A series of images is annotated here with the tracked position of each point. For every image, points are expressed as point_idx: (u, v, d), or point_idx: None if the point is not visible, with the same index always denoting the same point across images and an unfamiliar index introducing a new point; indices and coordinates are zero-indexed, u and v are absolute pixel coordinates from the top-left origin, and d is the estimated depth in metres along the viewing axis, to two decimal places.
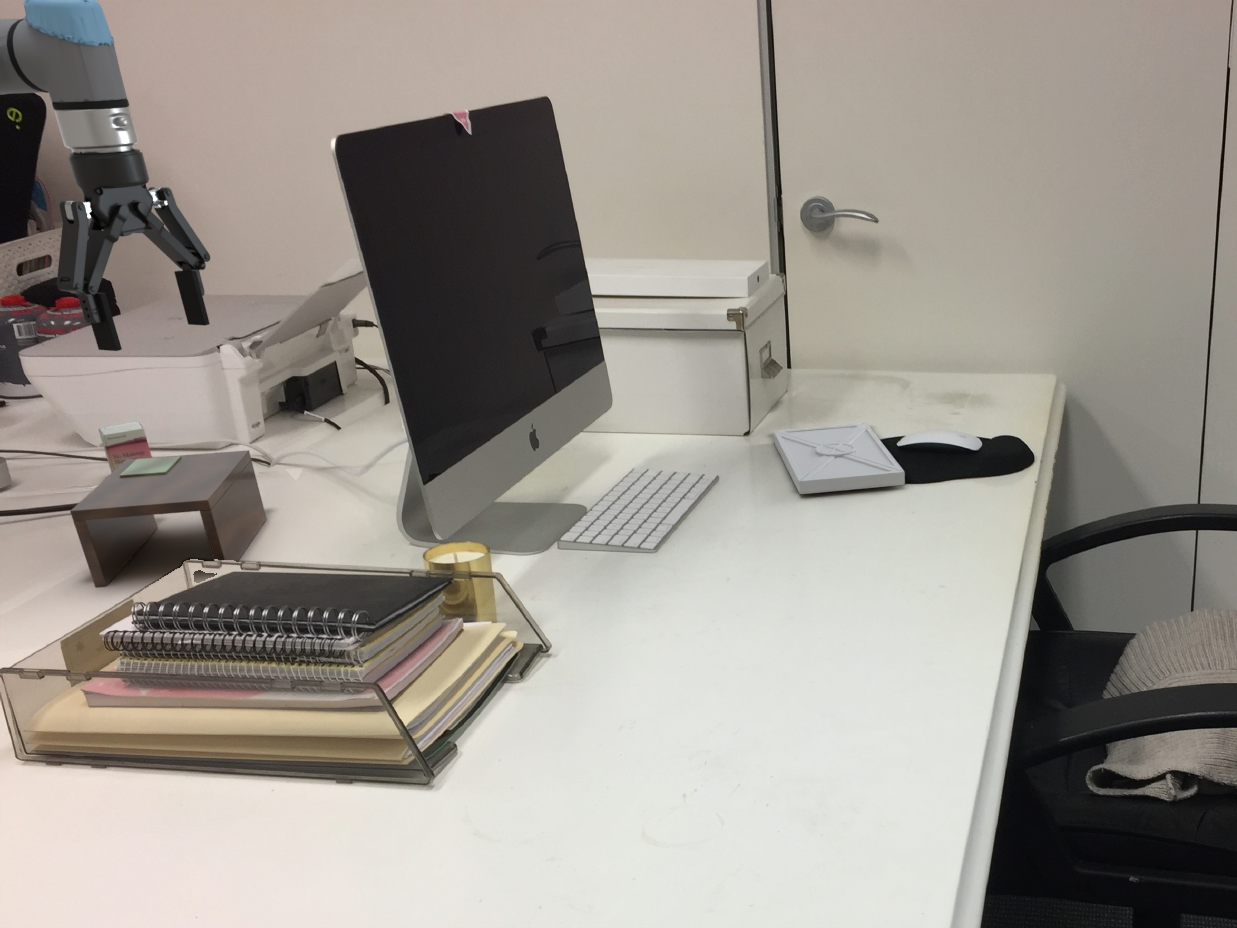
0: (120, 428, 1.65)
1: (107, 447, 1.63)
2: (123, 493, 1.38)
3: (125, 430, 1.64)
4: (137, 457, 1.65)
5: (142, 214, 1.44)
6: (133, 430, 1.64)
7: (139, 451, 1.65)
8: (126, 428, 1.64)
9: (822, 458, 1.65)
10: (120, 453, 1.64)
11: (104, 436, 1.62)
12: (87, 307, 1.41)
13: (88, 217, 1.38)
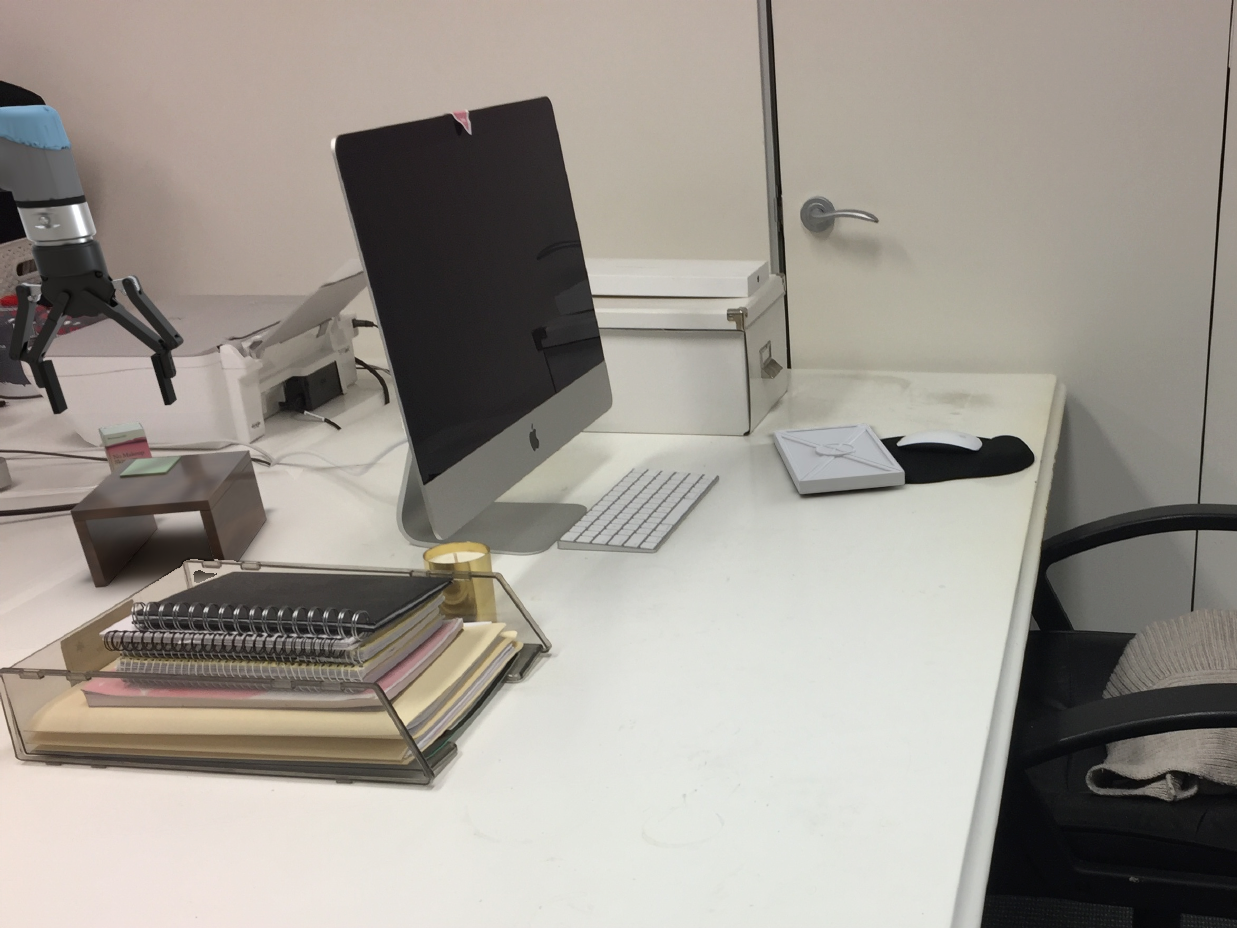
0: (120, 428, 1.65)
1: (107, 447, 1.63)
2: (123, 493, 1.38)
3: (125, 430, 1.64)
4: (137, 457, 1.65)
5: (86, 301, 1.56)
6: (133, 430, 1.64)
7: (139, 451, 1.65)
8: (126, 428, 1.64)
9: (822, 458, 1.65)
10: (120, 453, 1.64)
11: (104, 436, 1.62)
12: None
13: (28, 299, 1.55)
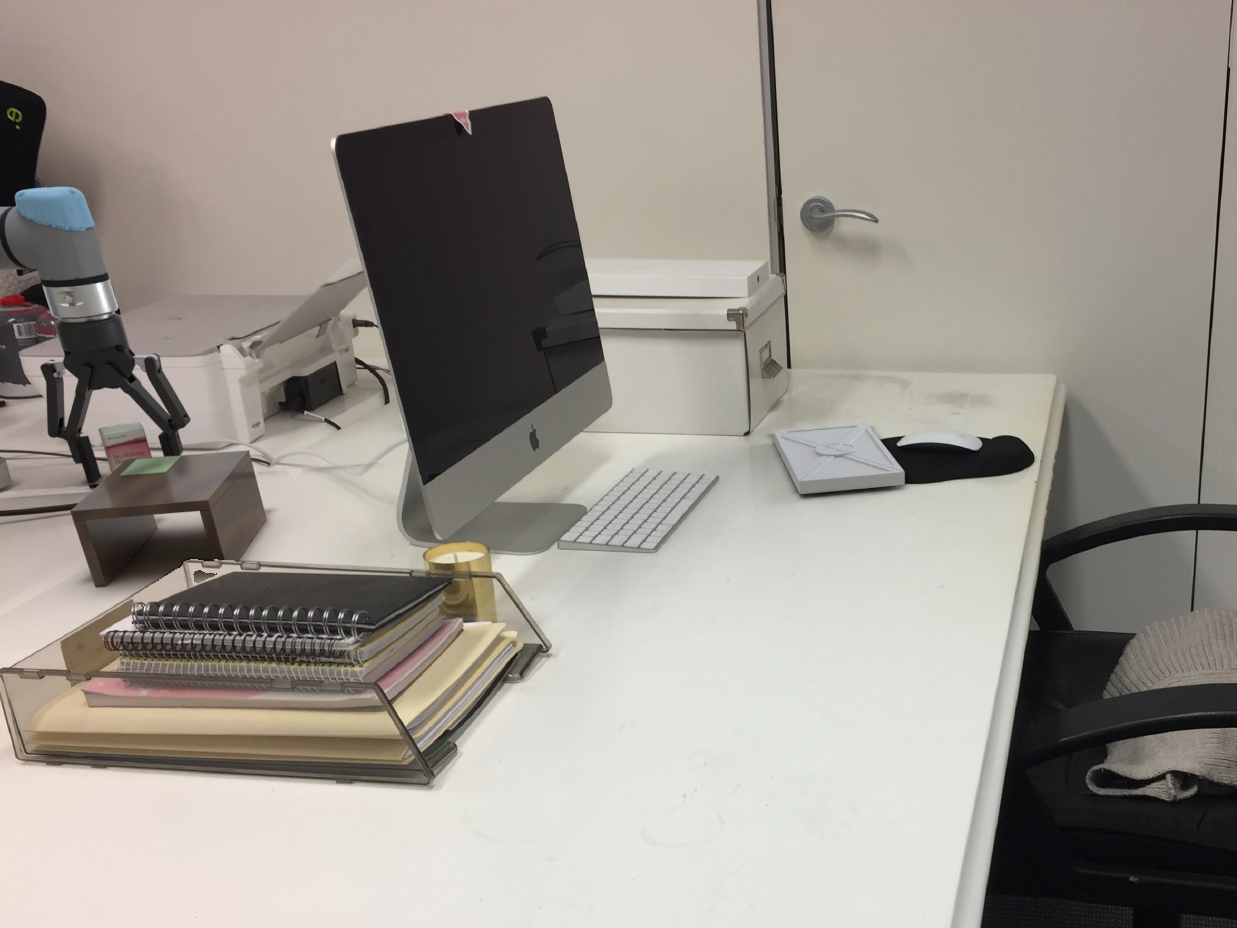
0: (120, 428, 1.65)
1: (107, 447, 1.63)
2: (123, 493, 1.38)
3: (125, 430, 1.64)
4: (137, 457, 1.65)
5: (106, 374, 1.60)
6: (133, 430, 1.64)
7: (139, 451, 1.65)
8: (126, 428, 1.64)
9: (822, 458, 1.65)
10: (120, 453, 1.64)
11: (104, 436, 1.62)
12: None
13: (54, 376, 1.60)
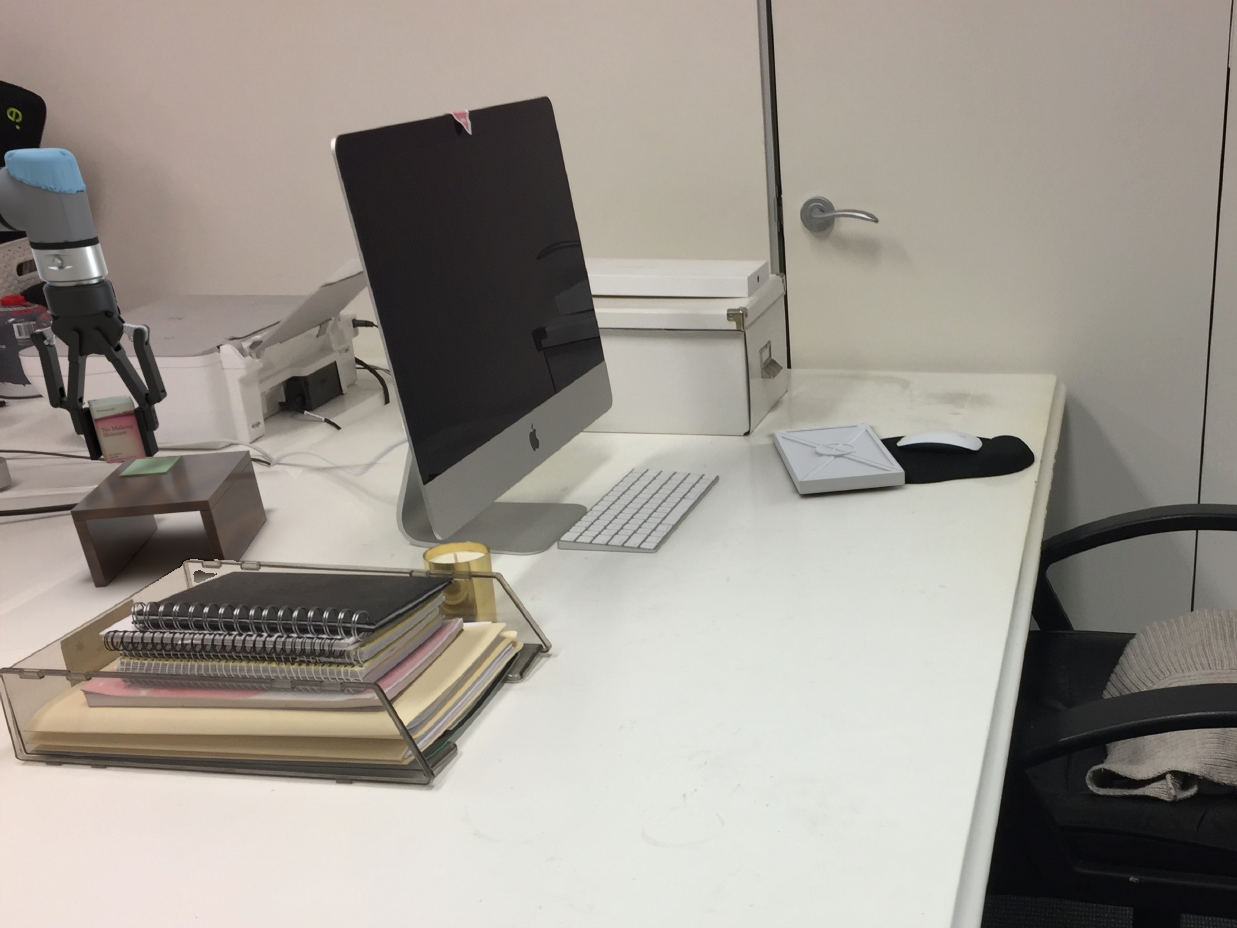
0: (109, 401, 1.63)
1: (96, 420, 1.61)
2: (123, 493, 1.38)
3: (114, 403, 1.62)
4: (126, 430, 1.64)
5: (93, 339, 1.58)
6: (122, 403, 1.62)
7: (128, 425, 1.64)
8: (116, 401, 1.63)
9: (822, 458, 1.65)
10: (109, 426, 1.62)
11: (93, 408, 1.61)
12: None
13: (45, 343, 1.58)
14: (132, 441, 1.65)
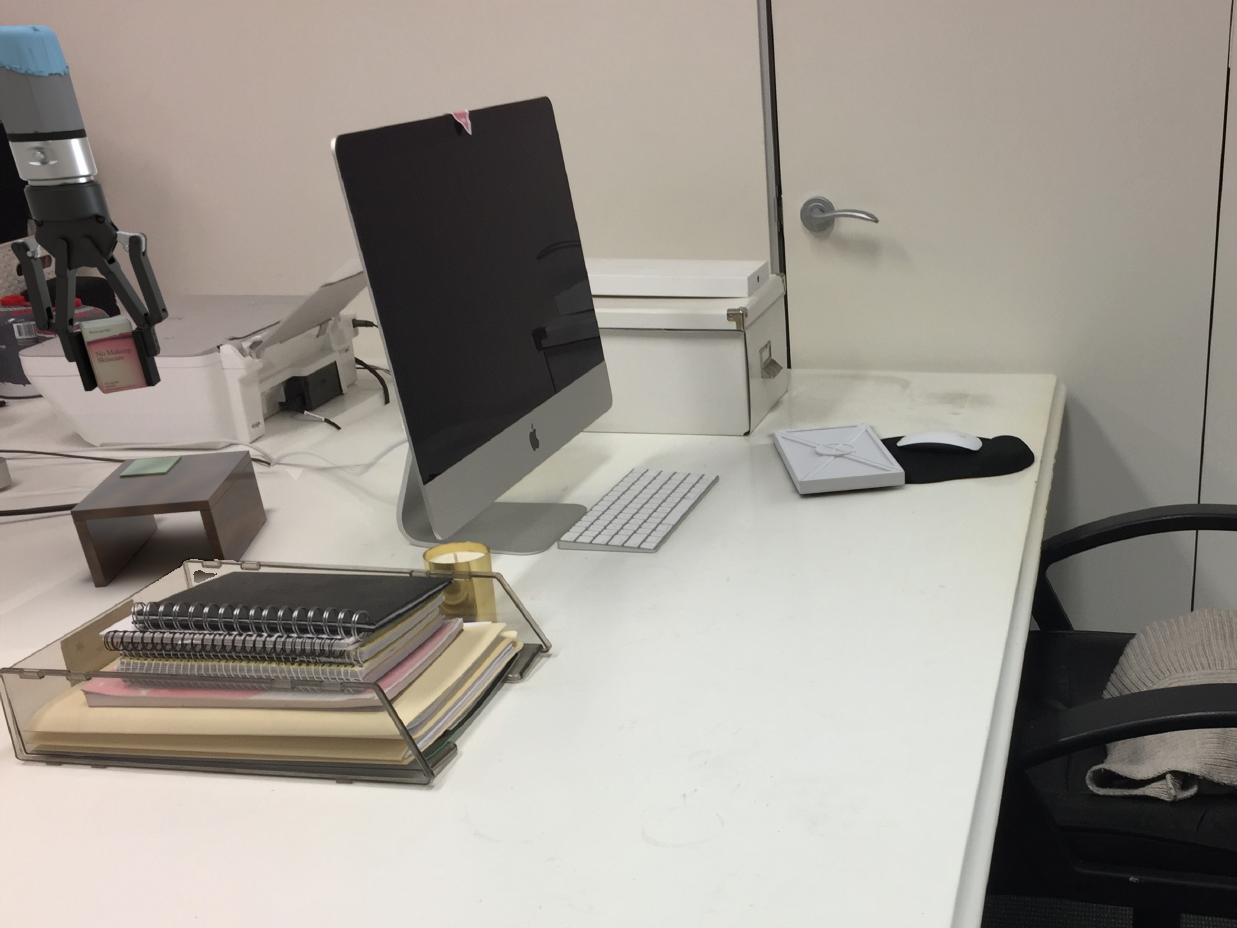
0: (104, 322, 1.44)
1: (89, 342, 1.42)
2: (123, 493, 1.38)
3: (109, 323, 1.43)
4: (123, 355, 1.45)
5: (83, 248, 1.39)
6: (118, 323, 1.43)
7: (126, 349, 1.44)
8: (111, 322, 1.44)
9: (822, 458, 1.65)
10: (104, 350, 1.43)
11: (85, 329, 1.41)
12: None
13: (28, 255, 1.38)
14: (130, 368, 1.45)
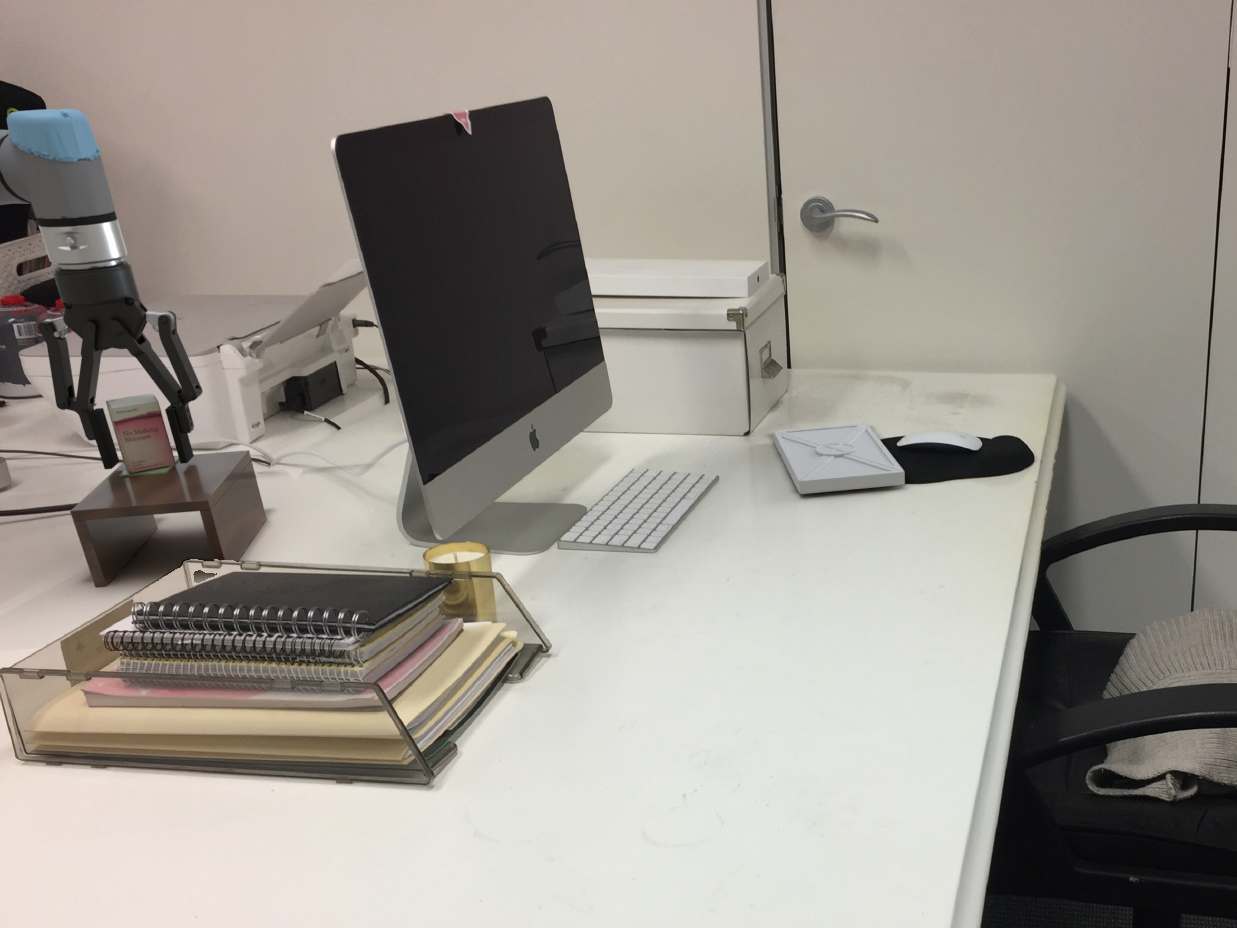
0: (131, 400, 1.42)
1: (116, 422, 1.40)
2: (123, 493, 1.38)
3: (136, 403, 1.41)
4: (150, 434, 1.43)
5: (112, 331, 1.37)
6: (146, 402, 1.41)
7: (153, 428, 1.43)
8: (138, 401, 1.42)
9: (822, 458, 1.65)
10: (131, 430, 1.41)
11: (112, 409, 1.40)
12: None
13: (55, 336, 1.37)
14: (157, 447, 1.44)
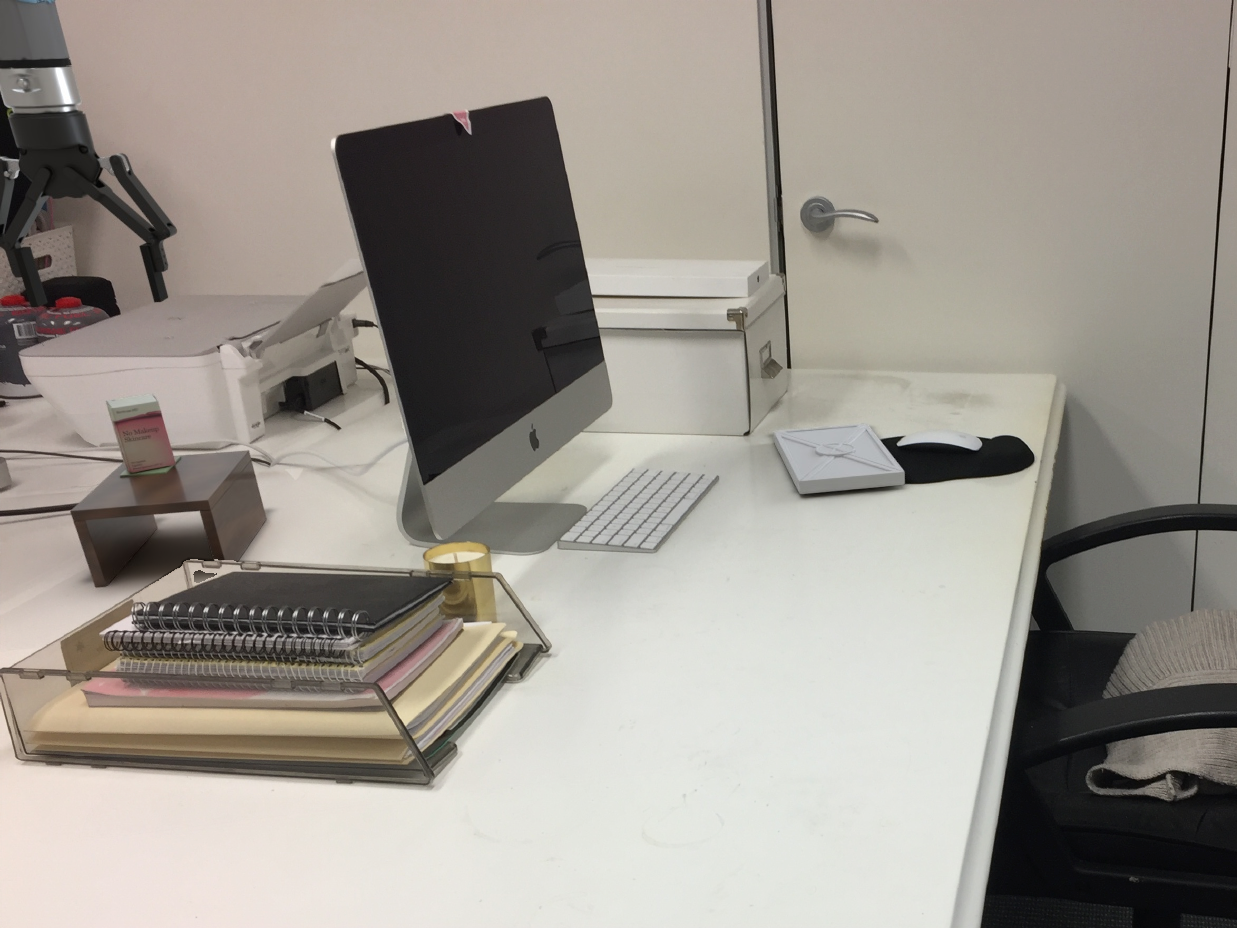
0: (131, 400, 1.42)
1: (116, 422, 1.40)
2: (123, 493, 1.38)
3: (136, 403, 1.41)
4: (150, 434, 1.43)
5: (69, 179, 1.40)
6: (146, 402, 1.41)
7: (153, 428, 1.43)
8: (138, 401, 1.42)
9: (822, 458, 1.65)
10: (131, 430, 1.41)
11: (112, 409, 1.40)
12: None
13: (5, 175, 1.39)
14: (157, 447, 1.44)
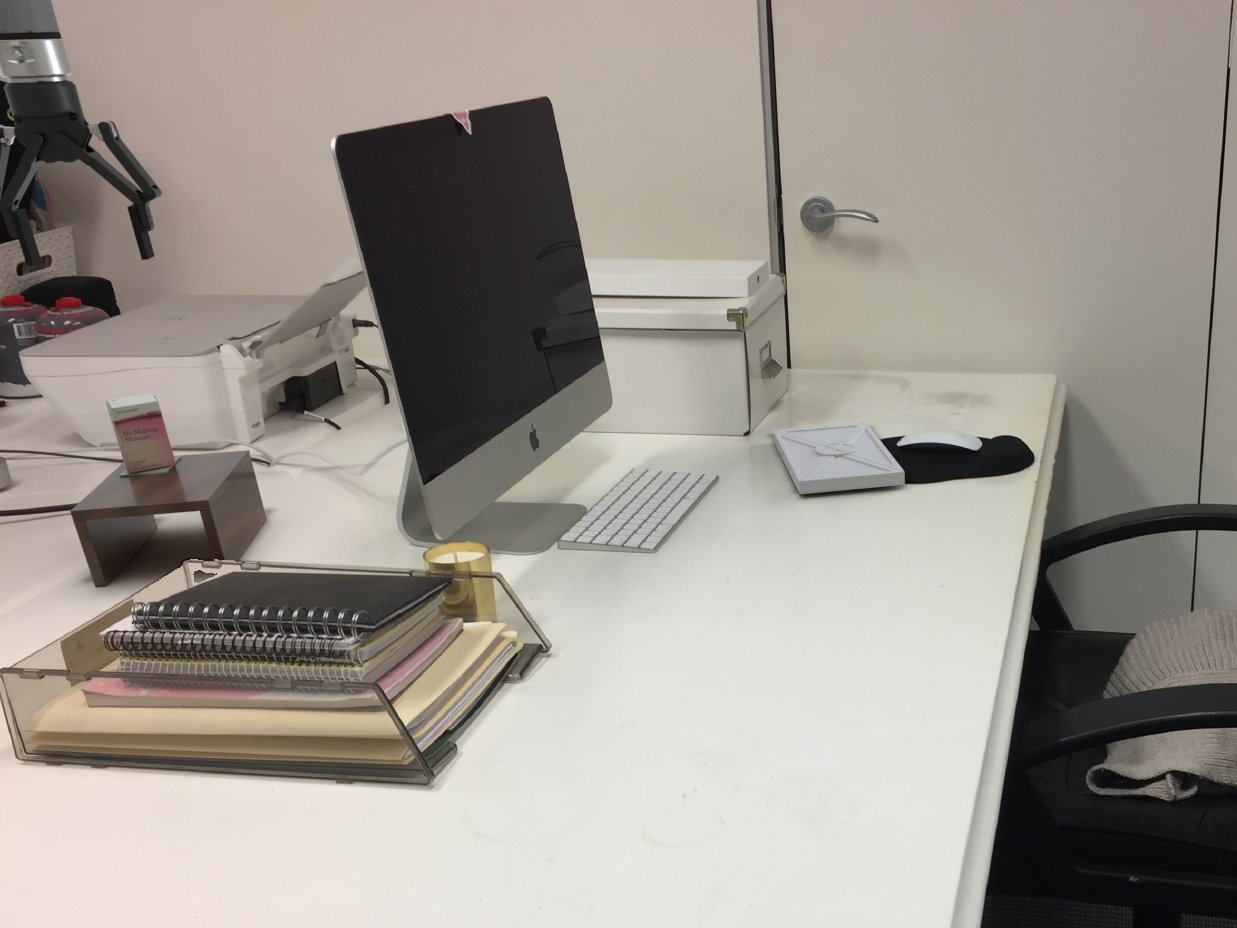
0: (131, 400, 1.42)
1: (116, 422, 1.40)
2: (123, 493, 1.38)
3: (136, 403, 1.41)
4: (150, 434, 1.43)
5: (61, 144, 1.51)
6: (146, 402, 1.41)
7: (153, 428, 1.43)
8: (138, 401, 1.42)
9: (822, 458, 1.65)
10: (131, 430, 1.41)
11: (112, 409, 1.40)
12: None
13: (1, 141, 1.51)
14: (157, 447, 1.44)
